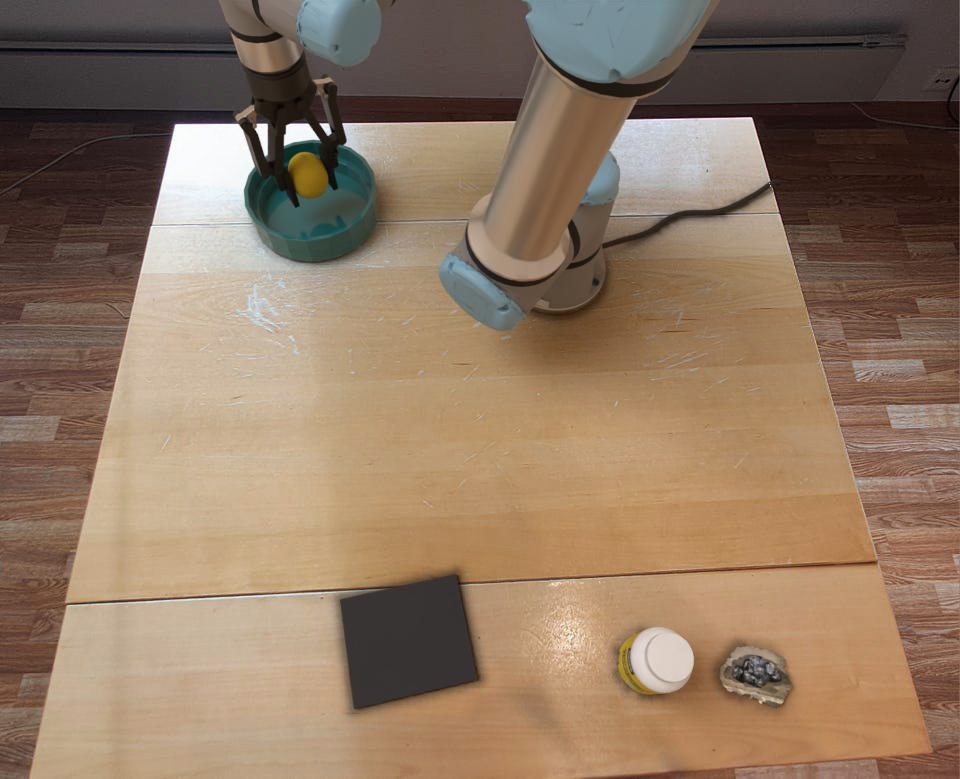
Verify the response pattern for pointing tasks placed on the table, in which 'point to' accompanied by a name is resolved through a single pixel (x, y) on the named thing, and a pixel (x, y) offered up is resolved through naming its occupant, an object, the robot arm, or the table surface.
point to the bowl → (315, 209)
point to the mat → (406, 641)
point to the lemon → (308, 175)
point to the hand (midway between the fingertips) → (312, 192)
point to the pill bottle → (655, 661)
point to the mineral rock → (756, 675)
